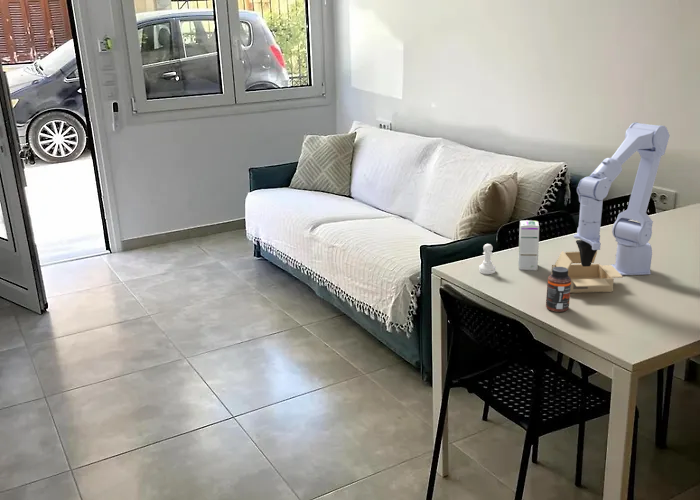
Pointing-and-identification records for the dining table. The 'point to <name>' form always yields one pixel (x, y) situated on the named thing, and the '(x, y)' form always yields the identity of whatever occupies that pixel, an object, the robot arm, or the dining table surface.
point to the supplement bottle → (558, 290)
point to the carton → (592, 278)
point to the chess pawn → (487, 261)
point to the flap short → (577, 257)
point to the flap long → (563, 261)
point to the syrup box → (528, 245)
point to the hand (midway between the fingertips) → (585, 265)
